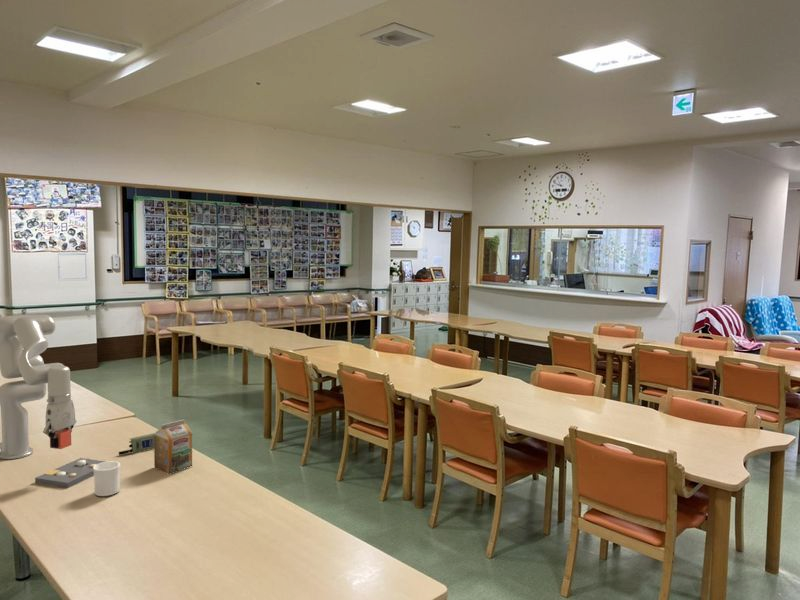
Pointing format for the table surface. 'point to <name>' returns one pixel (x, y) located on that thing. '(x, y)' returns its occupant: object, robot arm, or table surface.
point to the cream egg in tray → (61, 473)
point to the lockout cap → (63, 438)
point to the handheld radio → (140, 443)
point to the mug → (106, 478)
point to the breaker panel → (68, 474)
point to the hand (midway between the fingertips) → (60, 444)
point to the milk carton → (173, 447)
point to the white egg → (81, 463)
